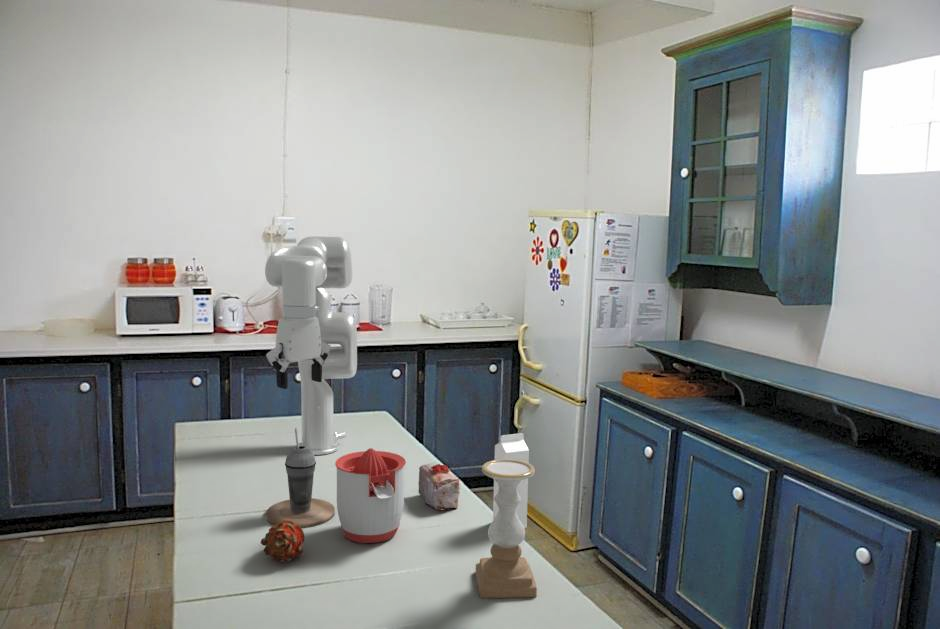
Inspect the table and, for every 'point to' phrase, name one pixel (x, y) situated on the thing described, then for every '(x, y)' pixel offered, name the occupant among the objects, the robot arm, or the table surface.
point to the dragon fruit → (284, 541)
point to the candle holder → (506, 537)
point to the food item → (438, 486)
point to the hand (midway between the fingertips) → (299, 384)
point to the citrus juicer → (370, 494)
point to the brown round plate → (315, 516)
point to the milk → (516, 450)
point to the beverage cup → (300, 477)
